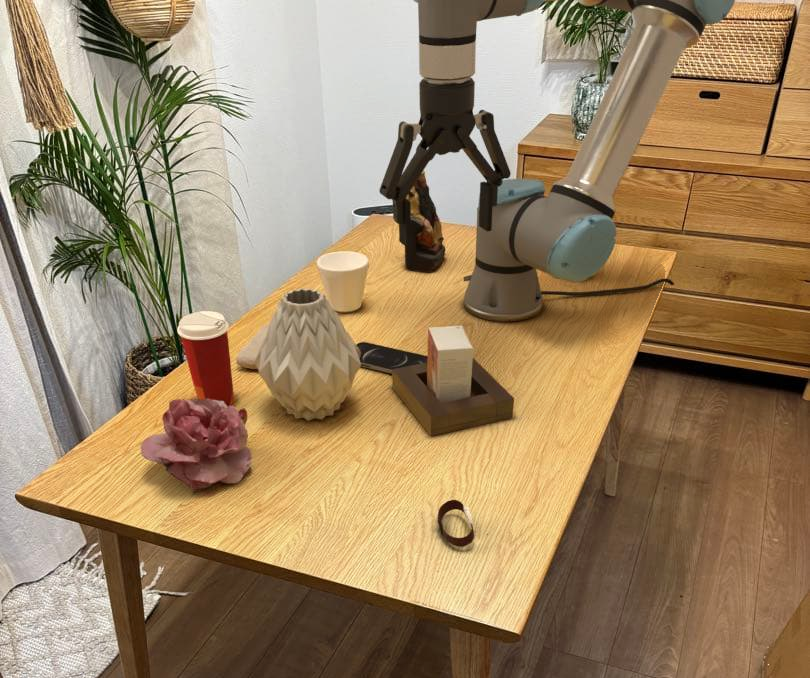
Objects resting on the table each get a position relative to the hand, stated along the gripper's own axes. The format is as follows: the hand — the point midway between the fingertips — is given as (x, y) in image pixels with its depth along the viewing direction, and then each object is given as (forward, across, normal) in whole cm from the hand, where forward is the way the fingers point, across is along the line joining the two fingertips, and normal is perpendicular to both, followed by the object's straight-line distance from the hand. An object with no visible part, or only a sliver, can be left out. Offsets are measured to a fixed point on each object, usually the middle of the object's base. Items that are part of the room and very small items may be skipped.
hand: (445, 236), depth 121 cm
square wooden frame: (+23, +4, +10) cm, 25 cm away
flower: (+22, +44, +11) cm, 51 cm away
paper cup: (+22, +38, -6) cm, 45 cm away
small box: (+22, +4, +10) cm, 25 cm away
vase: (+22, +25, +2) cm, 33 cm away
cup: (+23, +6, -32) cm, 40 cm away
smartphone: (+23, +8, -7) cm, 25 cm away
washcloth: (+23, +22, -18) cm, 37 cm away
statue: (+24, -18, -46) cm, 55 cm away
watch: (+22, +18, +39) cm, 49 cm away
